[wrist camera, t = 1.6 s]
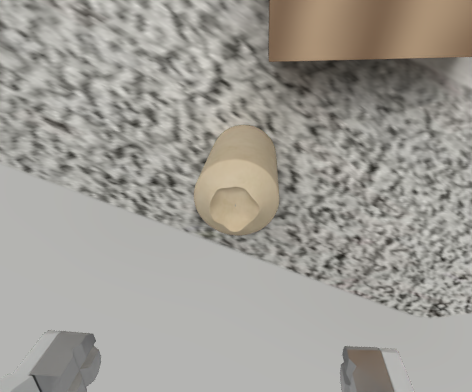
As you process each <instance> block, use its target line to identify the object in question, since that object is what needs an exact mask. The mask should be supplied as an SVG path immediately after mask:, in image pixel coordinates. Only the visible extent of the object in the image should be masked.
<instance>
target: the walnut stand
mask: <svg viewBox="0 0 472 392" xmlns="http://www.w3.org/2000/svg"><path fill="white" fill-rule="evenodd" d="M443 57H472V0H269V62H277V61H319V60H360V59H402V58H443Z"/></svg>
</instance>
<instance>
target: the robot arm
mask: <svg viewBox="0 0 472 392" xmlns="http://www.w3.org/2000/svg"><path fill="white" fill-rule="evenodd" d="M95 342H96V340H95V337H94V335H93V334H90V333H78V332H66V331H51V330H48V331H47V332H45V333H44V334H43V335H42V336H41V337H40V339H39V340H38V341H37V343H36V344H35V345H34V346H33V348H32V349H31V350H30V352H29V353H28V354H27V356H26V357H25V358H24V359H23V361H22V362H21V363H20V365H19V366H18V367H17V369H16V370H15V371H14V372H13V374H7V375H5V376H4V377H3V378H1V379H0V392H87V389H86V387H87V386H88V385H89V384H91V383H92V382H93V381H94V380H95V378H96V376H97V374H98V372H99V368H100V363H101V355H100V352H99V350H98V349H97V348H96V347H94V346H93V345H94V343H95ZM343 359H344V363H342V364H341V370H340V381H341V390H342V392H414V389H413V387H412V384H411V381H410V379H409V376H408V374H407V371H406V369H405V366H404V364H403V361H402V359H401V356H400V354H399V352H398V351H397V350H396V349H388V348H375V347H350V346H349V347H348V346H345V347H344V349H343Z"/></svg>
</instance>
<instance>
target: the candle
mask: <svg viewBox="0 0 472 392" xmlns="http://www.w3.org/2000/svg"><path fill="white" fill-rule="evenodd" d="M194 202H195V206H196V209H197V211H198V213H199V215H200V216H201V217H202V219H203V220H204V221H205V222H206V223H207V224H208V225H209V226H211V227H212V228H214V229H215V230H217V231H220V232H222V233H225V234H229V235H247V234H251V233H254V232H257V231H259V230H261V229H262V228H264V227H265V226H266V225H267V224H269V223H270V221H271V220H272V219H273V217H274V216H275V214H276V212H277V209H278V205H279V187H278V174H277V161H276V152H275V147H274V145H273V142H272V141H271V139H270V138H269V137H268V135H267V134H266V133H265V132H263V131H262V130H260V129H259V128H256V127H254V126H250V125H238V126H234V127H231V128H229V129H227V130H226V131H224V132H223V133H222V134H221V135H220V136H219V137H218V139H217V140H216V142H215V144H214V146H213V148H212V150H211V152H210V154H209V157H208V159H207V161H206V163H205V165H204V167H203V170H202V172H201V174H200V176H199V178H198V180H197V183H196V186H195V190H194Z"/></svg>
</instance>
